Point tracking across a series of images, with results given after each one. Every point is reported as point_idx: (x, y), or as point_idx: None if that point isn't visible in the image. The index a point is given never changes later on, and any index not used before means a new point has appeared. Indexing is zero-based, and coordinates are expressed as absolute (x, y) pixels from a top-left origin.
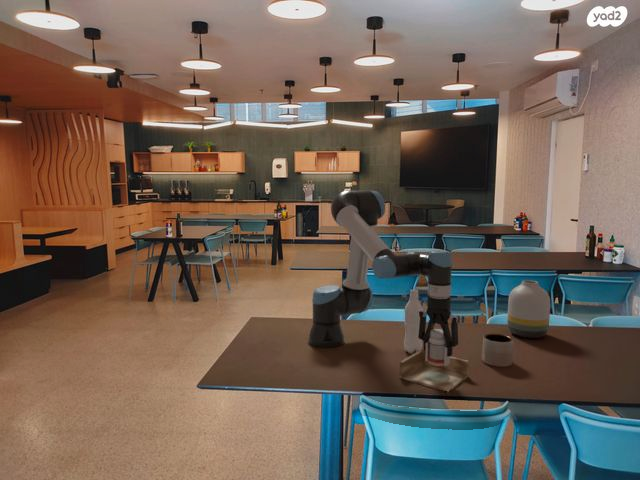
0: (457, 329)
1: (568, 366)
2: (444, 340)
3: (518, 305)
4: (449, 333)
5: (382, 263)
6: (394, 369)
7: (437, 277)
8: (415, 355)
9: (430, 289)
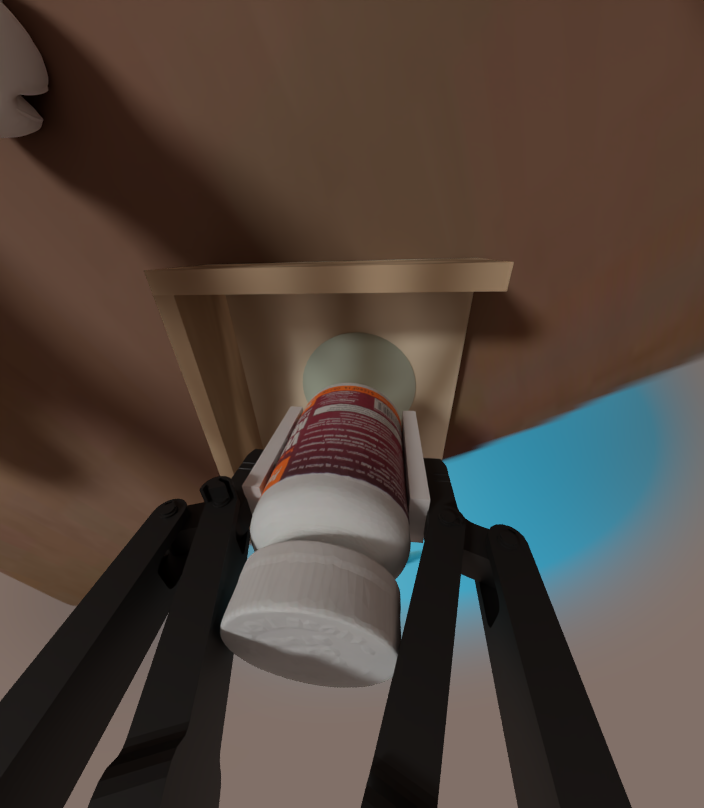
0: (620, 797)
1: None
2: (396, 575)
3: None
4: (449, 654)
5: None
6: (189, 394)
7: None
8: (207, 392)
9: None
